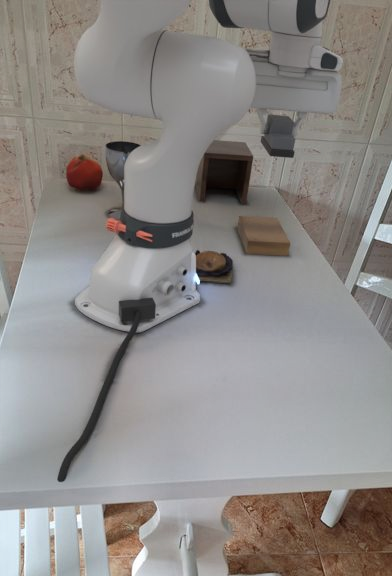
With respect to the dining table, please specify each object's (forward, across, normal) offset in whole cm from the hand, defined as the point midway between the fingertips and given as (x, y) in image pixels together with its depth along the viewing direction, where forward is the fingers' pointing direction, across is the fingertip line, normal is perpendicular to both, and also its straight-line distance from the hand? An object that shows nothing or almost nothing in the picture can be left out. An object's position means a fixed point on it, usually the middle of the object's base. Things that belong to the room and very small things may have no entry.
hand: (278, 134), depth 96 cm
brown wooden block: (+22, 0, -1) cm, 22 cm away
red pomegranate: (+22, -40, +24) cm, 52 cm away
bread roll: (+22, -12, -16) cm, 30 cm away
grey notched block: (+3, 0, 0) cm, 3 cm away
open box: (+22, -6, +26) cm, 35 cm away
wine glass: (+22, -30, +9) cm, 39 cm away
